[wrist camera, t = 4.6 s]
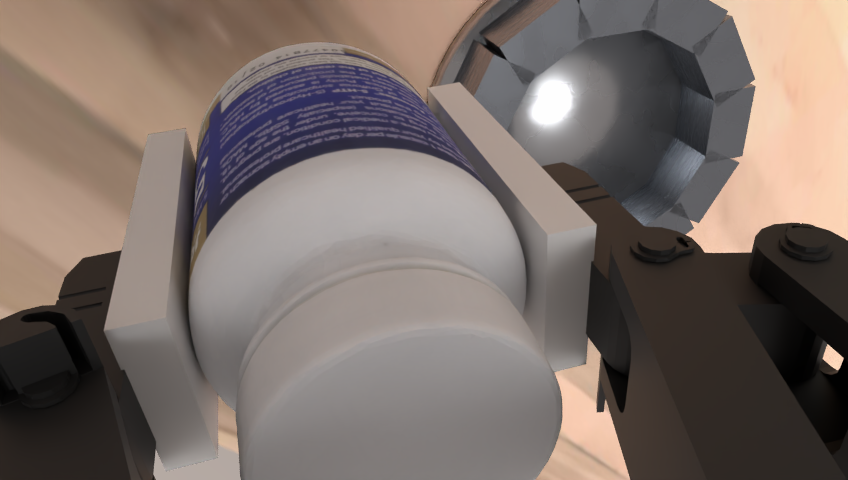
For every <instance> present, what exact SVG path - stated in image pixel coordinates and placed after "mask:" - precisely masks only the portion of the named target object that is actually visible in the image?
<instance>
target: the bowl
mask: <svg viewBox="0 0 848 480" xmlns="http://www.w3.org/2000/svg"><path fill="white" fill-rule="evenodd" d="M727 12H728V11H727V10H725V9H723V8H721V7H720V6H718V5H716V4H714V3H713V2H711V1H709V0H488V1H487V2H486V3H485V4H483V5H482V6H481V7H480V8H479V9H478V10H477V11H476V13H475V14H474V15H473V16H472V17H471V18H470V19H469V21H468V22H467V23H466V24H465V25H464V26H463V28H462V29H461V31H460V32H459V34H458V35H457V36H456V38H455V39H454V41H453V42H452V44H451V45H450V47H449V49H448V51H447V53H446V55H445V56H444V58H443V60H442V62H441V64H440V66H439V69H438V71H437V74H436V76H435V79H434V82H433V84H432V87H434V86H440V85H446V84H452V83H458V82H460V83H461V84H462V85H463V86H464V87H465V88H466V90H467V91H468V92H469V93H470V94H471V95H472V96H473V97H474V98H475V99H476V100H477V101H478V102H479V103H480V104H481V105H482V106H483V107H484V108H485V109H486V110H487V111H488V112H489V113H490V114H491V115H492V116H493V118H494V119H495V120H496V121H497V122H498V123H499V124H500V125H501V126H502V127H503V128H504V129H505V130H506V131H507V132H508V133H509V134H510V135H511V136H512V137H513V138H514V139H515V140H516V141H517V142H518V143H519V144H520V146H521V147H522V148H523V149H524V150H525V151H526V152H527V153H528V154H529V155H530V156H531V157H532V158H533V159H534V160H535V161H536V162H537V163H538V164H539V165H540V166H545V165H550V164H555V163H561V162H564V163H566V164H569V165H571V166H574V167H576V168H578V169H581V170H583V171H585V172H586V173H587V174H588V175H589V176H590V177H592V178H593V179H594V180H595V181H596V182H597V183H598V184H599V187H602V188H603V189H605V190H606V191H607V192H608V193H609V194H610V197H613V198H614V199H615V200H616V201H617V202H619V203H620V204H621V205H622V206H623V207H624V208H625V209H626V210H627V211H628V212H629V213H630V214H632V215H633V216H634V217H635V218H636V219H637V220H638V221H639V222H640V223H641V224H642V225H643V226H645V227H662V228H666V229H671V230H675V231H678V232H680V233H682V234H684V235H685V234H687V233H688V232H689V231H691V230H692V229H694V227H693V226H692V224H691V222H690V220H692V221H695V222H697V223H699V222H700V221H701V219H702V218H703V216H704V215H705V213H706V212H707V210H708V209H709V207H710V206H711V204H712V203H713V201H714V200H715V198H716V197H717V195H718V194H719V192H720V191H721V189H722V188H723V186H724V185H725V183H726V182H727V180H728V179H729V177H730V176H731V174H732V173H733V171H734V170H735V169H736V167H737V166H738V164H739V162H738V161H736V160H734V159H733V158H735V157H740V156H742V155H743V149H744V144H745V139H746V134H747V128H748V123H749V118H750V112H751V107H752V102H753V97H754V91H755V86H754V85H752V84H750V83H751V82H752V81H753V80H755V78H754V75H753V72H752V69H751V67H750V64H749V61H748V58H747V56H746V53H745V50H744V48H743V45H742V42H741V39H740V37H739V34H738V31H737V28H736V26H735V23H734V20H733V17H732V16H729V15H726V14H727ZM427 105H428V103H427ZM428 107H429V105H428Z"/></svg>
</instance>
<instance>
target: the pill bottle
mask: <svg viewBox="0 0 848 480" xmlns="http://www.w3.org/2000/svg"><path fill="white" fill-rule="evenodd" d="M526 284H527V277H526V266H525V259H524V255H523V251H522V247H521V244H520V241H519V238H518V236H517V234H516V231H515V229H514V227H513V225H512V223H511V221H510V219H509V218H508V216H507V215H506V213H505V211H504V210H503V208H502V207H501V205H500V204H499V202H498V201H497V199H496V198H495V196H494V195H493V193H492V192H491V190H490V189H489V188H488V186H487V185H486V183H485V182H484V181H483V180H482V178H481V177H480V176H479V174H478V173H477V171H476V170H475V169H474V167H473V166H472V165H471V164H470V162H469V161H468V160H467V158H466V157H465V156H464V154H463V153H462V152H461V150H460V149H459V148H458V146H457V145H456V144H455V142H454V141H453V140H452V139H451V137H450V136H449V134H448V133H447V132H446V130H445V129H444V128H443V126H442V125H441V123H440V122H439V121H438V119H437V118H436V117H435V115H434V114H433V113H432V111H431V110H430V108H429V107H428V105H427V104H426V102H425V101H424V100H423V99H422V97H421V96H420V95H419V93H418V92H417V91H416V90H415V89H414V87H413V86H412V85H411V84H410V83H409V82H408V81H407V80H406V78H405V77H404V76H403V75H402V74H400V73H399V72H398V71H397V70H396V69H395V68H393V67H392V66H391V65H390V64H388V63H387V62H385V61H383V60H382V59H380V58H379V57H377V56H375V55H373V54H371V53H369V52H366V51H364V50H361V49H358V48H356V47H352V46H348V45H344V44H337V43H330V42H311V43H300V44H295V45H289V46H285V47H282V48H278V49H275V50H273V51H270V52H268V53H266V54H264V55H262V56H260V57H258V58H256V59H254V60H252V61H251V62H249V63H248V64H246V65H245V66H244V67H242V68H241V69H239V70H238V71H237V72H236V73H235V74H234V75H233V76H232V77H231V78H230V79H229V80H228V81H227V82H226V83H225V84H224V85H223V86H222V88H221V89H220V90H219V91H218V93H217V94H216V96H215V97H214V99H213V100H212V102H211V104H210V106H209V107H208V109H207V112H206V114H205V116H204V119H203V122H202V125H201V128H200V132H199V138H198V145H197V157H196V175H195V190H194V211H193V229H192V242H191V258H190V272H189V287H188V308H189V324H190V330H191V336H192V341H193V345H194V350H195V354H196V357H197V359H198V362H199V364H200V366H201V369H202V371H203V373H204V375H205V377H206V378H207V380H208V381H209V383H210V385H211V386H212V388H213V389H214V390H215V391H216V392H217V394H218V395H219V396H220V397H221V399H222V400H223V401H224V402H225V403H226V404H227V405H228V406H229V407H230V408H232V409H233V410H234V411H235V412H236V424H237V436H238V448H239V463H240V477H241V480H535V479H536V478H537V477H538V475H539V474H540V472H541V471H542V469H543V468H544V466H545V465H546V463H547V462H548V460H549V458H550V456H551V454H552V452H553V450H554V447H555V445H556V442H557V439H558V436H559V432H560V429H561V423H562V396H561V391H560V387H559V384H558V381H557V379H556V376H555V373H554V371H553V369H552V368H551V366H550V364H549V362H548V360H547V358H546V357H545V355H544V353H543V351H542V350H541V348H540V346H539V344H538V343H537V341H536V339H535V337H534V335H533V333H532V332H531V330H530V328H529V327H528V325H527V324H526V322H525V320H524V319H523V317H522V315H523V310H524V306H525V299H526Z"/></svg>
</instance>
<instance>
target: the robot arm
mask: <svg viewBox="0 0 848 480" xmlns="http://www.w3.org/2000/svg"><path fill="white" fill-rule="evenodd" d="M427 92H428V105H429V108H430V110H431V111H432V113H433V114H434V115H435V117H436V118H437V119H438V121H439V122H440V123H441V125H442V126H443V128H444V129H445V130H446V132H447V133H448V134H449V136H450V137H451V139H452V140H453V141H454V142H455V144H456V145H457V146H458V148H459V149H460V150H461V152H462V153H463V154H464V156H465V157H466V158H467V160H468V161H469V162H470V164H471V165H472V166H473V167H474V169H475V170H476V171H477V173H478V174H479V176H480V177H481V178H482V180H483V181H484V182H485V183H486V185H487V186H488V188H489V189H490V190H491V192H492V193H493V195H494V196H495V198H496V199H497V201H498V202H499V204H500V205H501V207H502V208H503V210H504V211H505V213H506V215H507V216H508V218H509V219H510V221H511V223H512V225H513V227H514V229H515V231H516V234H517V236H518V238H519V241H520V244H521V247H522V251H523V255H524V259H525V266H526V277H527V284H526V299H525V306H524V310H523V315H522V317H523V319H524V320H525V322H526V324H527V325H528V327H529V328H530V330H531V332H532V333H533V335H534V337H535V339H536V341H537V343H538V344H539V346H540V348H541V350H542V351H543V353H544V355H545V357H546V358H547V360H548V362H549V364H550V366H551V368H552V369H553V371H554V372H556V371H560V370H564V369H568V368H572V367H576V366H580V365H584V364H586V357H587V344H588V337H589V339H590V340H591V341H592V343H593V344H594V345H595V347H596V348H597V349H598V351H599V352H600V354H601V360H600V370H599V381H598V392H597V412H604V403H605V400H606V401H607V404H608V407H609V410H610V414H611V417H612V420H613V424H614V427H615V430H616V433H617V437H618V440H619V443H620V447H621V450H622V453H623V457H624V460H625V463H626V466H627V470H628V473H629V476H630V480H848V241H847V240H846V239H844V238H842V237H840V236H838V235H836V234H835V233H833V232H831V231H829V230H826V229H822V228H818V227H815V226H813V225H810V224H803V223H802V224H800V223H785V224H774V225H771V226H769V227H766V228H763V229H761V231H760V232H759V233H758V234H757V235H756V236H755V240H754V245H753V249H752V253H704V251H703V250H702V248H701V247H700V246H699V245H698V244H697V243H696V242H695V241H694V240H693V239H692V238H690V237H688V236H686V235H684V234H682V233H680V232H678V231H675V230H671V229H666V228H662V227H645V226H643V225H642V224H641V223H640V222H639V221H638V220H637V219H636V218H635V217H634V216H633V215H632V214H630V213H629V212H628V211H627V210H626V209H625V208H624V207H623V206H622V205H621V204H620V203H619V202H617V201H616V200H615V199H614V198H613V197H610V194H609V193H608V192H607V191H606V190H605V189H603V188H602V187H599V184H598V183H597V182H596V181H595V180H594V179H593V178H592V177H590V176H589V175H588V174H587V173H586V172H585V171H583V170H581V169H578V168H576V167H574V166H571V165H569V164H566V163H564V162H561V163H555V164H550V165H545V166H540V165H539V164H538V163H537V162H536V161H535V160H534V159H533V158H532V157H531V156H530V155H529V154H528V153H527V152H526V151H525V150H524V149H523V148H522V147H521V146H520V144H519V143H518V142H517V141H516V140H515V139H514V138H513V137H512V136H511V135H510V134H509V133H508V132H507V131H506V130H505V129H504V128H503V127H502V126H501V125H500V124H499V123H498V122H497V121H496V120H495V119H494V118H493V116H492V115H491V114H490V113H489V112H488V111H487V110H486V109H485V108H484V107H483V106H482V105H481V104H480V103H479V102H478V101H477V100H476V99H475V98H474V97H473V96H472V95H471V94H470V93H469V92H468V91H467V90H466V88H465V87H464V86H463V85H462V84H461V83H460V82H458V83H452V84H446V85H440V86H434V87H428V88H427ZM195 175H196V162H195V159H194V155H193V152H192V148H191V145H190V141H189V138H188V135H187V131H186V128H183V129H178V130H172V131H166V132H160V133H154V134H148V137H147V142H146V146H145V150H144V155H143V159H142V164H141V168H140V172H139V177H138V181H137V186H136V190H135V194H134V199H133V203H132V208H131V212H130V217H129V221H128V225H127V230H126V234H125V239H124V243H123V247H122V250H121V251H116V252H111V253H106V254H101V255H96V256H91V257H86V258H83V259H82V260H81V261H80V262H79V263H78V264H77V265H76V266H75V267H74V268H73V269H72V270H71V271H70V272H69V273H68V274H67V276H66V277H65V278H64V281H63V284H62V287H61V290H60V293H59V296H58V297H59V300H57V302H56V305H49V306H39V307H35V308H31V309H27V310H22V311H19V312H17V313H15V314H13V315H10V316H8V317H6V318H3V319H1V320H0V480H156V479H155V477H154V475H153V469H154V460H155V450H157V452H158V455H159V457H160V459H161V461H162V463H163V466H164V468H165V470H166V471H169V470H173V469H177V468H181V467H185V466H189V465H193V464H197V463H201V462H204V461H208V460H212V459H216V458H218V394H217V392H216V391H215V390H214V389H213V388H212V386H211V385H210V383H209V381H208V380H207V378H206V377H205V375H204V373H203V371H202V369H201V366H200V364H199V362H198V359H197V357H196V354H195V350H194V345H193V341H192V336H191V330H190V324H189V308H188V287H189V272H190V258H191V242H192V229H193V211H194V190H195ZM827 344H829V345H830V346H831V347H832V348H833V349H834V350H835V351H837V352H838V353H839V354H840V355H841V356H842V357H843V358H844V359H843V362H842V365H841V368H840V369H839V370H836V369H834V368H833V367H831V366H830V365H829V364H828V363H826V362H825V361H824V360H823V359H822V358H823V355H824V352H825V349H826V346H827Z"/></svg>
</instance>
